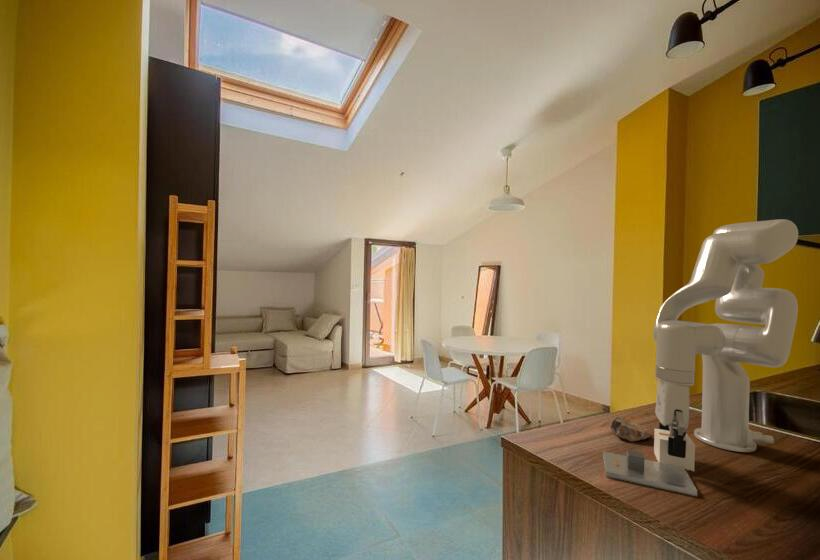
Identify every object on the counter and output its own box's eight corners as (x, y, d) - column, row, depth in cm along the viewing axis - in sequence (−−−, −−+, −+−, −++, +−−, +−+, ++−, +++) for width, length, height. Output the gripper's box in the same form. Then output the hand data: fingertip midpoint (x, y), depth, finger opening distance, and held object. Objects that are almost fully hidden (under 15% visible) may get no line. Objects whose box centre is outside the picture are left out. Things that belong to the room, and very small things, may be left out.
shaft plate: (683, 472, 81) (684, 453, 81) (697, 496, 72) (697, 475, 72) (603, 456, 88) (603, 439, 88) (606, 476, 79) (606, 457, 79)
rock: (621, 444, 96) (661, 439, 95) (615, 420, 97) (654, 415, 96) (609, 438, 104) (645, 433, 103) (603, 416, 105) (639, 412, 104)
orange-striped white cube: (686, 458, 88) (686, 432, 88) (694, 471, 82) (694, 443, 82) (653, 452, 91) (654, 427, 91) (659, 464, 85) (660, 437, 85)
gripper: (649, 366, 95) (646, 431, 95) (663, 381, 80) (659, 459, 80) (684, 370, 92) (681, 437, 92) (705, 386, 77) (702, 468, 76)
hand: (671, 447), depth 86 cm, fingers open, 9 cm apart
